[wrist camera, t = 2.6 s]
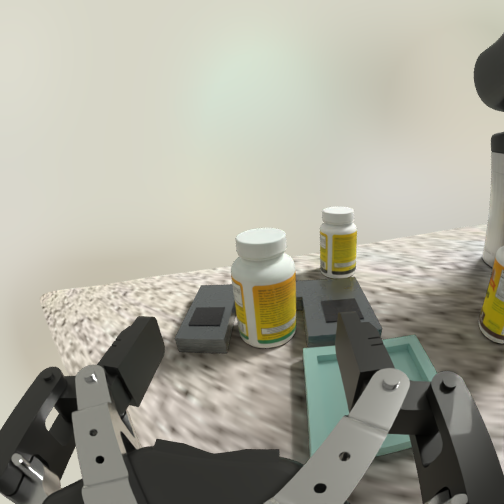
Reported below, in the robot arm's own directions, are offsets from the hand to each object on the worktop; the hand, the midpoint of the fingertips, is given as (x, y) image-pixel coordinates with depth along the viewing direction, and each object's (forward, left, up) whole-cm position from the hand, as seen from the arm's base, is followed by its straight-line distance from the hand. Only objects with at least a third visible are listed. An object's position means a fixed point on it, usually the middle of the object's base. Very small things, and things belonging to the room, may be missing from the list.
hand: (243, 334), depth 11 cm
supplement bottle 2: (-9, -24, -9) cm, 27 cm away
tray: (-8, -3, -9) cm, 12 cm away
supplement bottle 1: (0, -12, -9) cm, 15 cm away
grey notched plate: (-1, -14, -9) cm, 16 cm away
